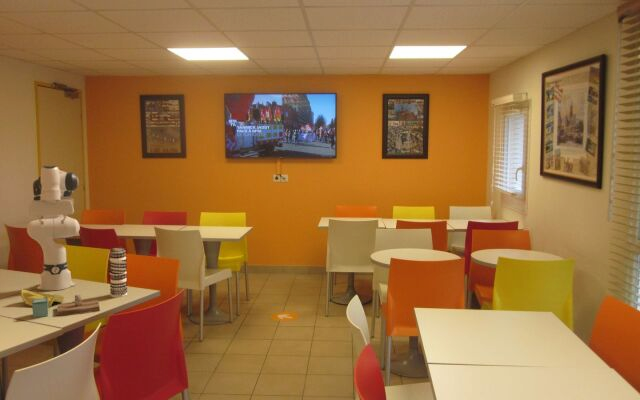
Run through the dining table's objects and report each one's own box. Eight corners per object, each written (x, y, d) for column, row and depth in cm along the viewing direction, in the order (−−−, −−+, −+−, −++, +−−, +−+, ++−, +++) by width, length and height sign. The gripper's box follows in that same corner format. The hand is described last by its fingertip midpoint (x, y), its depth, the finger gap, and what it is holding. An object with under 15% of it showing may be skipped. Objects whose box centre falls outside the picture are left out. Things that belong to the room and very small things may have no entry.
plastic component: (66, 297, 256) (53, 293, 246) (61, 311, 253) (48, 308, 244) (32, 291, 259) (19, 288, 250) (27, 306, 257) (13, 303, 248)
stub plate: (57, 308, 245) (57, 294, 244) (97, 303, 253) (97, 289, 252) (57, 316, 233) (56, 301, 233) (99, 310, 242) (99, 296, 241)
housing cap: (33, 314, 236) (33, 299, 235) (48, 312, 239) (47, 297, 238) (33, 317, 231) (32, 303, 230) (47, 316, 233) (47, 301, 233)
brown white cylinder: (123, 291, 275) (122, 246, 273) (131, 294, 269) (129, 248, 266) (106, 294, 269) (105, 248, 266) (114, 298, 262) (112, 251, 260)
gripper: (74, 196, 263) (75, 222, 263) (29, 198, 255) (31, 225, 255) (73, 196, 257) (74, 223, 257) (27, 197, 249) (28, 225, 249)
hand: (52, 224), depth 256 cm, fingers open, 8 cm apart
